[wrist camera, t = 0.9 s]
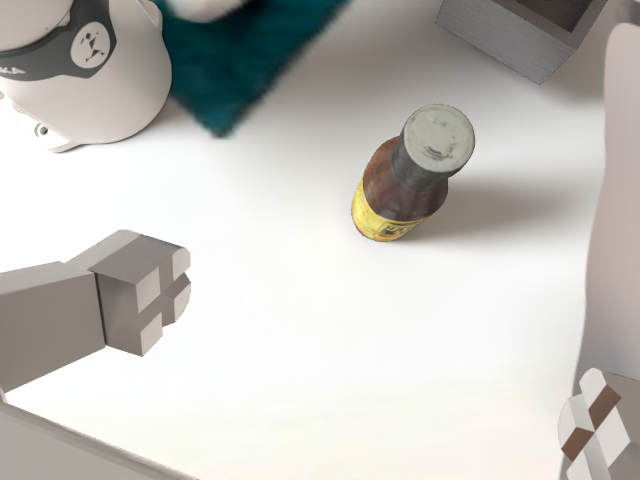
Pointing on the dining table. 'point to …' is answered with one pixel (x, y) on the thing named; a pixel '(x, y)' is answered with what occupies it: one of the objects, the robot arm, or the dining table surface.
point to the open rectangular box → (522, 30)
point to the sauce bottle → (412, 172)
